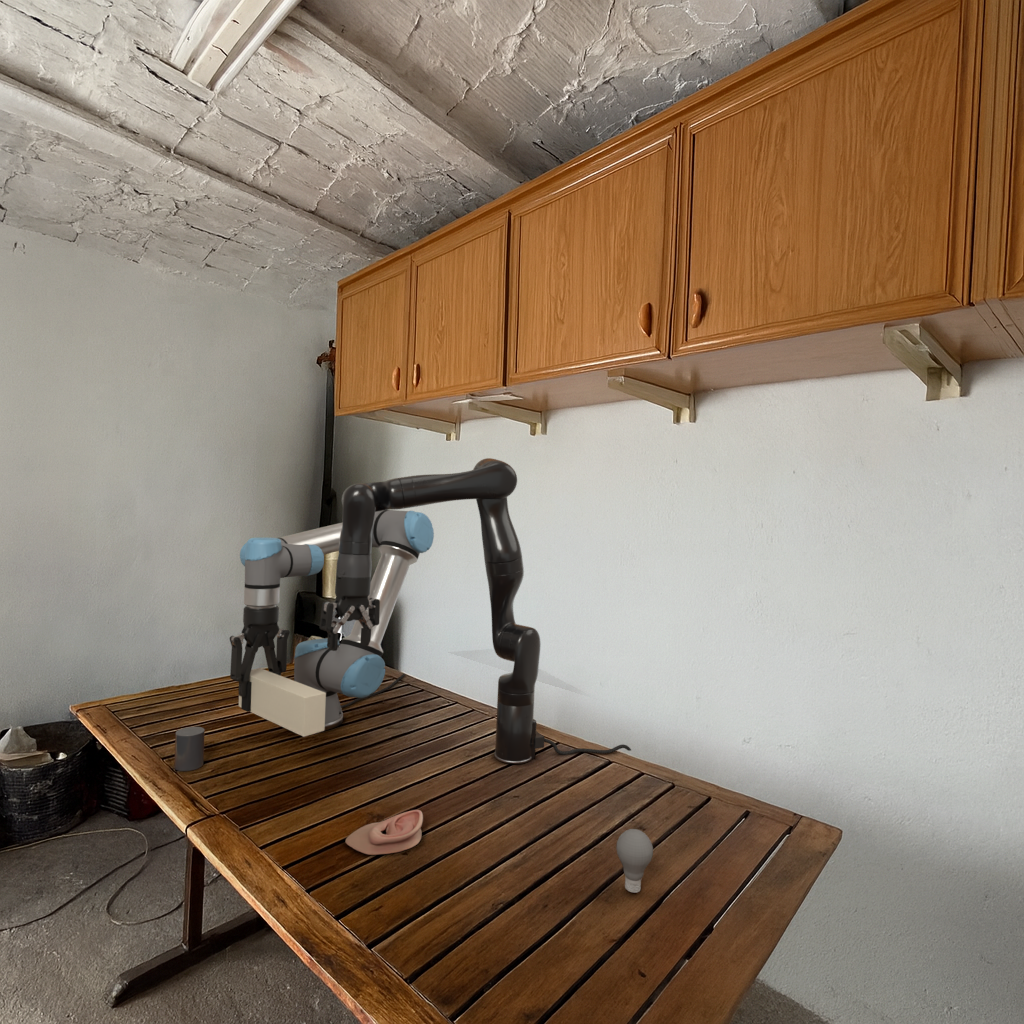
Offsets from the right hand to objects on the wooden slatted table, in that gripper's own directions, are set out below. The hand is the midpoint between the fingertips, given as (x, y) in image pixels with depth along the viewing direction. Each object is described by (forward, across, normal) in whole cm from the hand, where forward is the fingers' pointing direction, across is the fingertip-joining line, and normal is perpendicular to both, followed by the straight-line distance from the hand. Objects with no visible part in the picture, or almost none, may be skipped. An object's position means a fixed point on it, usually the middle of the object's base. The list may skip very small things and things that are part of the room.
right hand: (348, 647), depth 139 cm
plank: (+16, +9, -11) cm, 22 cm away
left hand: (+16, +9, -20) cm, 27 cm away
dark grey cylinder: (+31, +17, -33) cm, 49 cm away
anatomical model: (+31, +8, +24) cm, 40 cm away
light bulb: (+30, -10, +66) cm, 73 cm away
